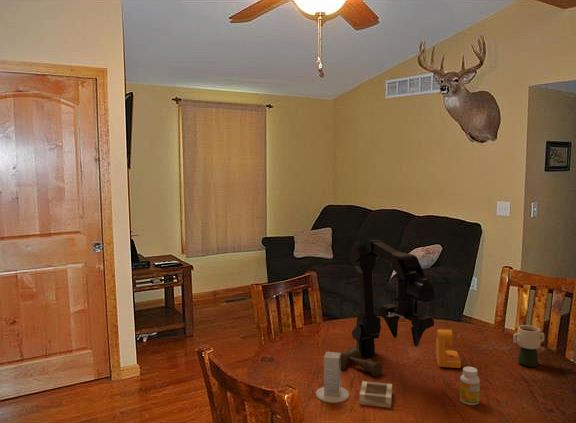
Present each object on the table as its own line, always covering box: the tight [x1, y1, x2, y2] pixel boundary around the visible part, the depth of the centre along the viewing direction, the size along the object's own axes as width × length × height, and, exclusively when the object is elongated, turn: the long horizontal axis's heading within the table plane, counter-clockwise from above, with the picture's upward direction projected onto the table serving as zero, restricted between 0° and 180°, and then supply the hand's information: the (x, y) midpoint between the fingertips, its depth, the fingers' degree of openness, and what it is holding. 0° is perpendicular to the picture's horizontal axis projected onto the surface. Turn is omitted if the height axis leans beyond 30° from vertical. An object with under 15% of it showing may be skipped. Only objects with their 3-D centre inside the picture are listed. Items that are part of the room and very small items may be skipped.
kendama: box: [333, 346, 383, 378], centre depth 165 cm, size 6×10×20 cm
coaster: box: [315, 386, 350, 404], centre depth 145 cm, size 10×10×1 cm
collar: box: [359, 380, 393, 408], centre depth 142 cm, size 9×9×3 cm
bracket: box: [435, 328, 462, 369], centre depth 167 cm, size 11×7×12 cm, turn 169°
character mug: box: [512, 324, 545, 368], centre depth 165 cm, size 11×7×13 cm, turn 92°
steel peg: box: [323, 351, 342, 397], centre depth 145 cm, size 4×4×12 cm
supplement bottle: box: [459, 366, 481, 406], centre depth 140 cm, size 5×5×10 cm
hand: (405, 341), depth 153 cm, fingers open, 9 cm apart
